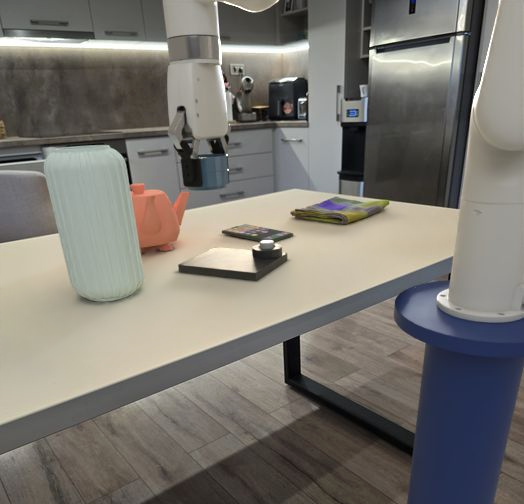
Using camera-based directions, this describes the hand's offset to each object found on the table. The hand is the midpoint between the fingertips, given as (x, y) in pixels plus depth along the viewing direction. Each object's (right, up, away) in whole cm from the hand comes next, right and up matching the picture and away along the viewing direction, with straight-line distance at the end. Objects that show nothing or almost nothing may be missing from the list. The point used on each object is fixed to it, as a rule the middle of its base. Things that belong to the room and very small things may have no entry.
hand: (206, 182), depth 77 cm
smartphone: (+8, -1, +34) cm, 34 cm away
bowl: (0, -1, 0) cm, 1 cm away
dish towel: (+30, +9, +51) cm, 60 cm away
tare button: (+10, -8, +12) cm, 18 cm away
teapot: (-15, -5, +27) cm, 32 cm away
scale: (+4, -11, +12) cm, 17 cm away
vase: (-16, -18, +2) cm, 24 cm away
